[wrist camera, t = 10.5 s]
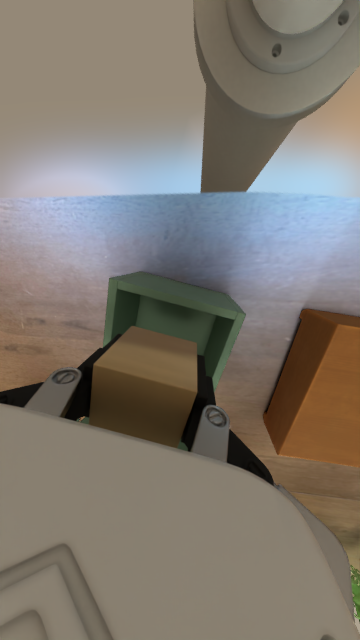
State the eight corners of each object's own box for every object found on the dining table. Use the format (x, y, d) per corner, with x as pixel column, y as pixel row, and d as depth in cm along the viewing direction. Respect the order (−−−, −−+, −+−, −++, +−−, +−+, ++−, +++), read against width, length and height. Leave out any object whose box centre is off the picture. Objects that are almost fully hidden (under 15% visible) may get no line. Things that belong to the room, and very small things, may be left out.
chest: (140, 271, 23) (109, 277, 15) (228, 294, 23) (246, 314, 15) (125, 363, 29) (97, 406, 20) (197, 383, 29) (198, 433, 20)
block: (131, 325, 11) (92, 364, 7) (197, 342, 11) (198, 392, 7) (123, 378, 13) (87, 437, 9) (180, 394, 13) (173, 460, 9)
